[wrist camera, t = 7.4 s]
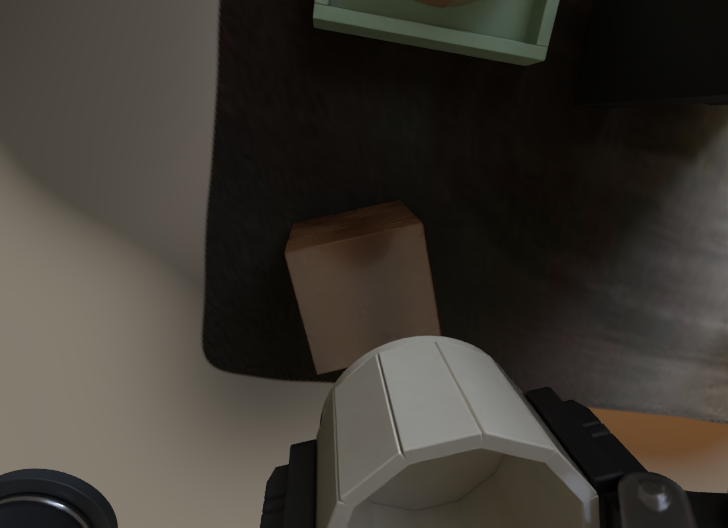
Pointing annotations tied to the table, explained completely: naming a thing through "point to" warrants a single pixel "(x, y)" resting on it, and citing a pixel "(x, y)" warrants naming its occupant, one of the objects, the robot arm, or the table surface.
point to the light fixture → (655, 53)
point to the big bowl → (446, 2)
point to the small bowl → (441, 447)
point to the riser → (361, 282)
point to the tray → (449, 25)
